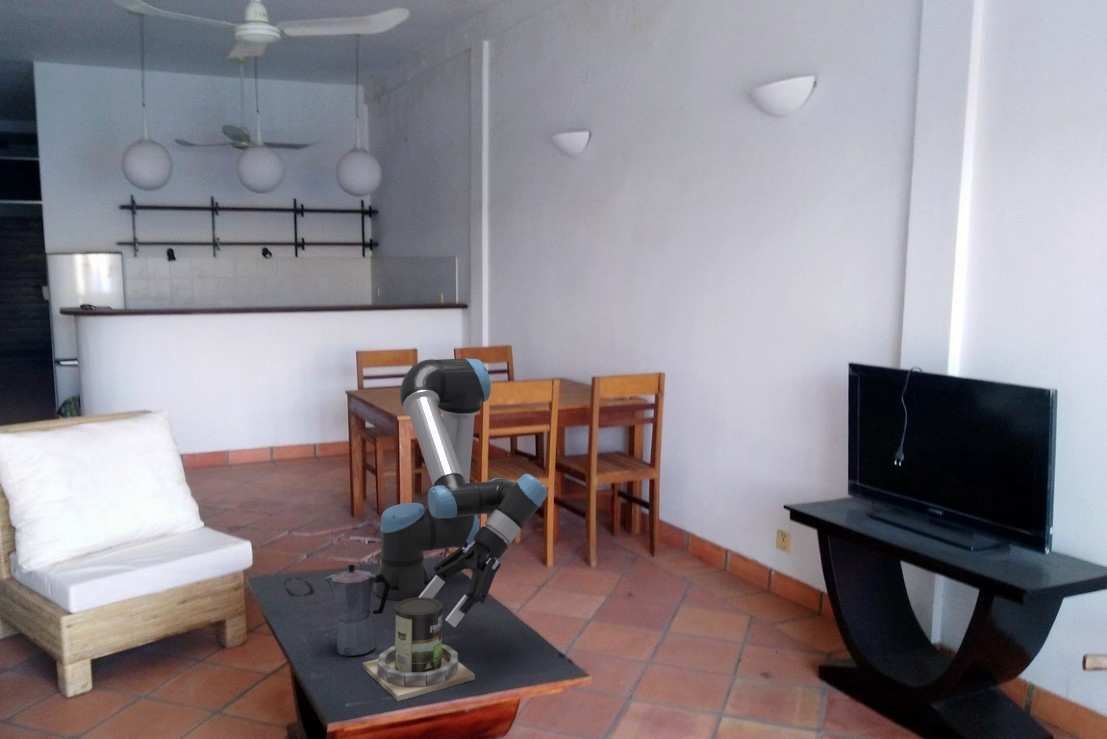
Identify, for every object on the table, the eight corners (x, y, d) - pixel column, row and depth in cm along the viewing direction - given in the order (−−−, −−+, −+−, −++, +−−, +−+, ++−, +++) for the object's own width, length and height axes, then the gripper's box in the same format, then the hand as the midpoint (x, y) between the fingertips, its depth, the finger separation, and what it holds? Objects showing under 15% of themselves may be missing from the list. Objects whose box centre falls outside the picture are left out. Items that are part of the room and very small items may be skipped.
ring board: (362, 668, 194) (362, 652, 194) (435, 649, 205) (436, 634, 204) (397, 701, 180) (398, 684, 179) (474, 679, 190) (475, 663, 190)
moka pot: (330, 639, 209) (330, 557, 207) (395, 641, 209) (395, 559, 207) (318, 656, 200) (318, 570, 198) (386, 658, 199) (386, 573, 197)
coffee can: (448, 660, 196) (448, 599, 195) (432, 681, 186) (433, 616, 185) (404, 655, 198) (404, 594, 197) (386, 675, 188) (386, 611, 187)
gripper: (535, 560, 190) (473, 642, 184) (479, 529, 211) (421, 602, 204) (515, 541, 187) (451, 623, 180) (459, 511, 207) (400, 585, 201)
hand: (435, 612), depth 192 cm, fingers open, 13 cm apart
